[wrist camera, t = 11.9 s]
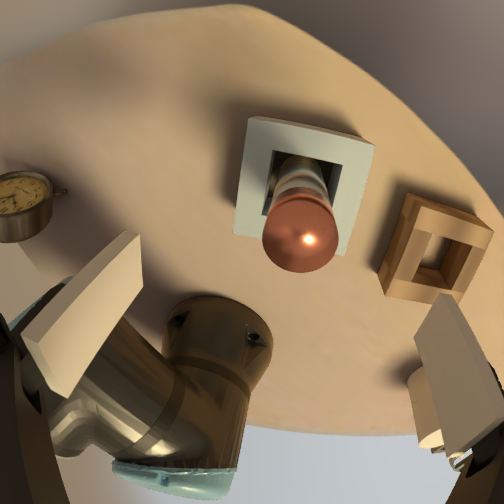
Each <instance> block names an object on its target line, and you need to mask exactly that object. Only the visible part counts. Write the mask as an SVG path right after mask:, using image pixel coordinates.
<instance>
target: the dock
mask: <svg viewBox="0 0 504 504" xmlns="http://www.w3.org/2000/svg"><path fill="white" fill-rule="evenodd" d="M374 150H375V145H374V144H372V143H370V142H369V141H367V140H365V139H364V138H361V137H357V136H354V135H350V134H346V133H342V132H338V131H334V130H330V129H325V128H321V127H316V126H312V125H307V124H302V123H297V122H292V121H287V120H281V119H276V118H270V117H263V116H254V117H251V118H248V124H247V131H246V138H245V145H244V152H243V159H242V166H241V173H240V181H239V188H238V196H237V203H236V211H235V219H234V227H233V234H238V235H243V236H248V237H253V238H258V239H262V234H263V229H264V226H265V222H266V219H267V215H268V212H269V208H270V205H271V201H272V197H268V191H269V186H270V180H271V174H272V168H273V163H274V157H275V151H281V152H286V153H291V154H296V155H301V156H306V157H310V158H315V159H320V160H324V161H328V162H333V168H332V172H331V176H330V181H329V185H328V189H327V193H328V196H329V200H330V203H331V207H332V211H333V214H334V218H335V222H336V226H337V230H338V235H339V242H338V247H337V250H336V252H335V254H336V255H341V256H344V254H345V251H346V248H347V245H348V242H349V239H350V236H351V233H352V230H353V226H354V223H355V220H356V217H357V213H358V210H359V206H360V203H361V199H362V196H363V192H364V189H365V185H366V181H367V178H368V174H369V170H370V166H371V162H372V158H373V154H374Z"/></svg>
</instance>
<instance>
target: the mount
mask: <svg viewBox="0 0 504 504" xmlns="http://www.w3.org/2000/svg"><path fill="white" fill-rule="evenodd" d="M432 233H433V234H436V235H439V236H443V237H446V238H450V239H453V240H452V243H451V245H450V247H449V250H448V252H447V254H446V257H445V259H444V261H443V263H442V265H441V267H440V269H439V271H438V270H433V269H429V268H425V267H421V266H419V264H420V261H421V259H422V257H423V254H424V252H425V250H426V247H427V245H428V243H429V240H430V238H431V235H432ZM493 233H494V231H493V230H492V229H491V228H490V227H488V226H487V225H486V224H485V223H484V222H483V221H482V220H480V219H479V218H478V217H477V216H474V215H472V214H469V213H466V212H464V211H461V210H458V209H456V208H453V207H450V206H447V205H444V204H441V203H439V202H436V201H433V200H430V199H427V198H423V197H420V196H417V195H414V194H411V193H408V192H407V195H406V198H405V201H404V204H403V207H402V210H401V213H400V216H399V219H398V222H397V225H396V228H395V231H394V233H393V236H392V239H391V241H390V244H389V247H388V249H387V252H386V255H385V257H384V260H383V262H382V265H381V267H380V269H379V272H378V274H377V275H378V278H379V281H380V283H381V286H382V289H383V292H384V295H385V296H388V297H393V298H399V299H404V300H410V301H416V302H421V303H427V304H433V303H434V302H435V300H436V298H437V296H438V294H439V292H440V293H445V294H450V295H452V296H453V298H454V300H455V301H456V303H457V305H458V304H459V302H460V301H461V299H462V297H463V295H464V293H465V292H466V290H467V288H468V286H469V284H470V282H471V280H472V279H473V277H474V275H475V273H476V271H477V269H478V267H479V265H480V263H481V260H482V258H483V256H484V254H485V252H486V250H487V247H488V245H489V243H490V241H491V238H492V236H493Z"/></svg>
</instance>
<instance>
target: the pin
mask: <svg viewBox="0 0 504 504" xmlns="http://www.w3.org/2000/svg"><path fill="white" fill-rule="evenodd" d="M262 242H263V247H264V250H265V252H266V254H267V255H268V257H269V258H270V259H271V261H272V262H274V263H275V264H276V265H277V266H279V267H280V268H282V269H285V270H287V271H291V272H296V273H305V272H311V271H314V270H317V269H319V268H321V267H323V266H324V265H326V264H327V263H328V262H329V261H330V260H331V259H332V257H333V256H334V254H335V252H336V250H337V247H338V242H339V235H338V230H337V226H336V222H335V218H334V214H333V211H332V207H331V203H330V200H329V196H328V193H327V189H326V186H325V182H324V179H323V175H322V172H321V169H320V166H319V165H318V163H317V162H316V161H315V160H314V159H313V158H310V157H306V156H301V155H294V156H292V157H290V158H288V159H287V160H286V161H285V162H284V163H283V165H282V167H281V170H280V173H279V177H278V180H277V184H276V187H275V191H274V194H273V198H272V201H271V205H270V208H269V212H268V215H267V219H266V222H265V226H264V229H263V234H262Z"/></svg>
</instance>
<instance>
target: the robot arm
mask: <svg viewBox="0 0 504 504" xmlns="http://www.w3.org/2000/svg"><path fill="white" fill-rule="evenodd" d="M142 288H143V278H142V265H141V248H140V233H135V232H130V231H125V230H124V231H123V232H122V233H121V234H120V235H119V236H117V237H116V238H115V239H114V240H113V241H112V242H111V243H110V244H108V245H107V246H106V247H105V248H104V249H103V250H102V251H101V252H100V253H99V254H97V255H96V256H95V257H94V258H93V259H92V260H91V261H90V262H89V263H88V264H87V265H86V266H85V267H84V268H83V269H82V270H81V271H80V272H78V273H77V274H76V275H75V276H70V277H67V278H65V279H64V280H62V281H61V282H60V283H59V284H57V285H56V286H55V287H53V288H51V289H50V290H49V291H48V292H47V293H46V294H44V295H43V296H42V297H41V298H39V299H38V300H37V301H36V302H34V303H33V304H32V305H31V306H30V307H28V308H27V309H26V310H25V311H23V312H22V313H21V314H20V315H19V316H18V317H17V318H15V319H14V320H13V321H12V322H11V323H9V324H8V325H7V323H6V321H5V319H4V317H3V316H2V314H1V313H0V504H70V502H69V500H68V497H67V494H66V491H65V487H64V484H63V481H62V478H61V475H60V471H59V468H58V464H57V460H56V457H57V458H61V459H72V458H75V457H77V456H78V455H80V454H81V453H82V452H83V451H84V450H85V449H86V448H87V447H88V446H89V445H90V444H95V445H96V446H97V447H99V448H100V449H102V450H104V451H105V452H107V453H108V454H110V455H112V456H113V457H115V460H114V461H113V462H112V471H113V473H114V474H115V475H116V476H119V477H120V478H122V479H124V480H126V481H129V482H131V483H134V484H136V485H139V486H143V487H145V488H149V489H152V490H155V491H159V492H163V493H167V494H171V495H176V496H181V497H186V498H192V499H200V500H217V499H220V498H222V497H224V496H225V495H226V494H227V493H228V491H229V489H230V486H231V482H232V479H233V476H234V473H235V472H236V471H237V463H238V458H239V453H240V448H241V443H242V437H243V432H244V427H245V422H246V417H247V411H248V405H249V400H250V396H251V392H252V391H253V389H254V388H255V386H256V385H257V383H258V382H259V380H260V379H261V377H262V375H263V374H264V372H265V371H266V369H267V367H268V366H269V363H270V361H271V357H272V350H273V338H272V334H271V332H270V330H269V328H268V326H267V325H266V323H265V322H264V321H263V320H262V319H261V318H260V317H259V316H258V315H257V314H256V313H254V312H253V311H252V310H250V309H249V308H247V307H245V306H243V305H241V304H239V303H237V302H234V301H232V300H228V299H225V298H220V297H212V296H201V297H194V298H190V299H187V300H185V301H183V302H181V303H179V304H178V305H177V306H176V307H175V308H174V309H173V310H172V312H171V313H170V315H169V317H168V319H167V321H166V323H165V326H164V329H163V337H162V349H161V354H160V353H159V352H158V351H157V350H156V349H155V348H154V347H153V346H152V345H151V344H150V343H149V342H148V341H146V340H145V339H144V338H143V337H142V336H141V335H140V334H139V333H138V332H137V331H136V330H135V329H134V328H133V326H132V325H131V324H130V323H129V322H128V321H127V320H126V319H125V318H124V317H123V316H122V315H123V314H124V312H125V311H126V310H127V308H128V307H129V305H130V304H131V303H132V301H133V300H134V299H135V297H136V296H137V294H138V293H139V292H140V290H141V289H142ZM414 340H415V343H416V346H417V349H418V352H419V355H420V358H421V361H422V364H423V367H424V370H425V373H426V377H427V380H428V383H429V387H430V390H431V394H432V397H433V401H434V404H435V408H436V412H437V416H438V420H439V424H440V428H441V433H442V437H443V442H444V447H445V452H446V457H447V458H451V457H456V456H461V455H462V454H464V453H465V452H466V451H468V450H469V449H470V448H472V452H473V453H472V454H470V455H469V456H468V457H466V458H465V459H463V460H462V461H461V462H459V463H458V464H456V466H455V467H454V468H455V469H457V468H458V467H460V466H461V465H463V464H464V466H463V467H462V468H460V469H459V470H458V471H460V472H461V474H460V476H459V478H458V480H457V482H456V484H455V486H454V488H453V490H452V492H451V494H450V496H449V498H448V500H447V502H446V503H445V504H504V390H503V389H502V386H501V383H500V381H498V376H497V374H496V372H495V370H494V368H493V367H492V366H491V364H490V363H489V362H488V361H487V359H486V357H485V355H484V353H483V351H482V349H481V347H480V345H479V343H478V341H477V339H476V337H475V335H474V333H473V331H472V329H471V328H470V326H469V324H468V322H467V320H466V319H465V317H464V315H463V313H462V312H461V310H460V308H459V306H458V305H457V303H456V301H455V300H454V298H453V296H452V295H450V294H445V293H440V292H439V294H438V296H437V298H436V300H435V302H434V303H433V305H432V307H431V309H430V311H429V312H428V314H427V316H426V318H425V319H424V321H423V323H422V324H421V326H420V328H419V329H418V331H417V333H416V334H415V336H414Z"/></svg>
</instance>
